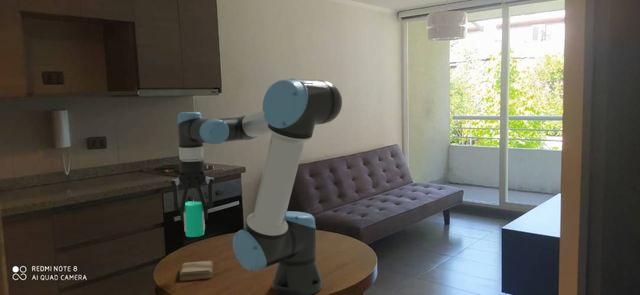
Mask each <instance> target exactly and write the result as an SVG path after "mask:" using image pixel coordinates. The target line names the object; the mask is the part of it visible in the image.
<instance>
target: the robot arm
mask: <svg viewBox="0 0 640 295" xmlns="http://www.w3.org/2000/svg"><path fill="white" fill-rule="evenodd" d="M342 106H343V97H342V95H341V92H340V91H339V89H338V88H337V87H336V85H334V84H333V83H331V82H330V81H327V80H324V79H300V78H299V79H298V78H288V79H281V80H277V81H275V82H274V83H272V84H271V85H270V86H269V87H268V88H267V90H266V92H265V94H264V95H263V100H262V109H260V110H257V111H254V112H251V113H248V114H245V115H242V116H238V117H221V118H219V117H218V118H203V117H202V116H203V115H202V113H201V112H199V111H187V112H186V111H184V112H180V113H178V115H177V125H176V126H177V135H178V137H177V138H178V153H179V160H180V161H179V173H180V174H179V176H178V177H177V178H175V179H174V178H172V179H171V181H170V184H171V186H172V193H173V194H172V196H173V210H174V211H177V212H178V211H179V216H180V219H179V220H180V222H183V226H184V229H183V230H184V232H186V213H185V211H184V207H185V203H186V202H187V199H188V194H189V190H191V189H196V190H197V193H198V196H199V200H200V202H201V203H202V206H203V211H202V223H203V230H204V231H205V229H206V224H205V222H206V221H205V220H208V219H209V213H208V212H209V211H208V210H209V209H213V207H214V200H213V197H214V196H213V183H214V181H215V180H214V177H213V176H212V177H209V176H206V174H205V161H204V160H203V159H204V144H209V145H219V144H222V143H225V142H226V143H227V142H233V141H234V142H236V141H249V140H253V139H254V140H255V139H257V137H258V136H262V135H267V134H269V133H271V137H270V140H269V145H268V150H267V153H266V159H265V163H264V167H263V172H262V175H261V181H260V184H259V189H258V194H257V197H256V202H255V206H254V211H253V212H252V213H250V214H249V215H247V217H246V220H245V226H244V228H243V229H240V230H238V231H237V232H235V234H234V235H233V237H232V248H233V253H234V255H235V257H236V260H237V261H238V262H239V264H240V265H241V266H242V267H243V268H244V269H246V271H250V272H256V271H260V270H264V269H266V268H269V267H271V266H273V265H276V268H275V270H274V271H275V272H274V275H273V279H272V290H273V292H274V293H276V294H278V295H314V294H316V293H318V292H319V291H321V289H322V288H323V278H322V275H321V272H320V269H319V267H318V263H317V258H316V257H317V255H316V254H317V249H316V247H317V244H316V242H317V239H316V238H317V233H316V232H317V231H316V230H317V227H316V219H315V217H314V215H312V214H311V213H307V212H303V211H294V210H293V211H290V210H288V207H289V203H290V200H291V195H292V192H293V188H294V184H295V181H296V176H297V172H298V169H299V168H298V167H299V165H300V161H301V156H302V154H303V150H304V149H303V148H304V145H305V142H307V141H309V140H311V139H312V137H313V135H314V134H313V133H314V130H315V126H316V125H323V124H327V123H330V122H332V121H334V120H335V119H336V118H337V117H338V116H339V114H340V112H341V111H342ZM204 182H206V184H207V191H208V193H207V194H208V204H207V201H206V198H205V193H204V190H203V188H202V187H203V186H202V185H203V183H204ZM180 183H181V184H182V186H183V187H184V188H183V195H182V199H181V203H179V187H178V186H179V185H180ZM179 204H180V205H179Z"/></svg>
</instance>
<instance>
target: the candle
mask: <svg viewBox="0 0 640 295" xmlns="http://www.w3.org/2000/svg"><path fill="white" fill-rule="evenodd" d="M192 199H193V200H191V201H186V203H185V207H184V211H185V213H186V232H185V231H184V232H185V236H186V237H189V238H194V237H196V238H197V237H201V236H204V235H205V230H203V223H202V211H203V206H202V203H201V201H195V198H192Z"/></svg>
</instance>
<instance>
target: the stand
mask: <svg viewBox="0 0 640 295" xmlns="http://www.w3.org/2000/svg"><path fill="white" fill-rule="evenodd" d="M180 268H181V269H180V271H179V281H180V282H182V281H193V280H203V279H205V280H206V279H212V278H213V269H214V262H213V261H212V260H202V261H192V262H190V261H189V262H184V263H182V265H181V267H180Z"/></svg>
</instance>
